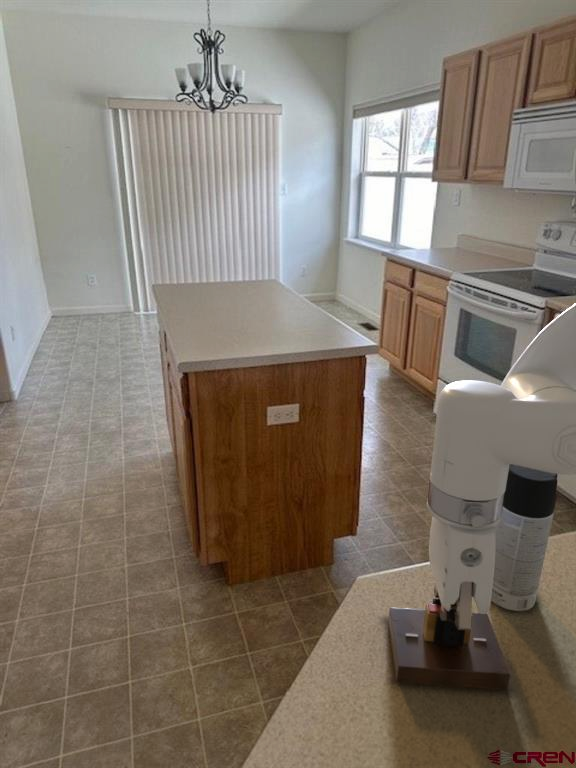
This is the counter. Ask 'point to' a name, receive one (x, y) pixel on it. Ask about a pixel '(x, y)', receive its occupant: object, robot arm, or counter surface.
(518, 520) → the spray can
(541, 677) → the counter surface
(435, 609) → the block
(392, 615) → the plate
